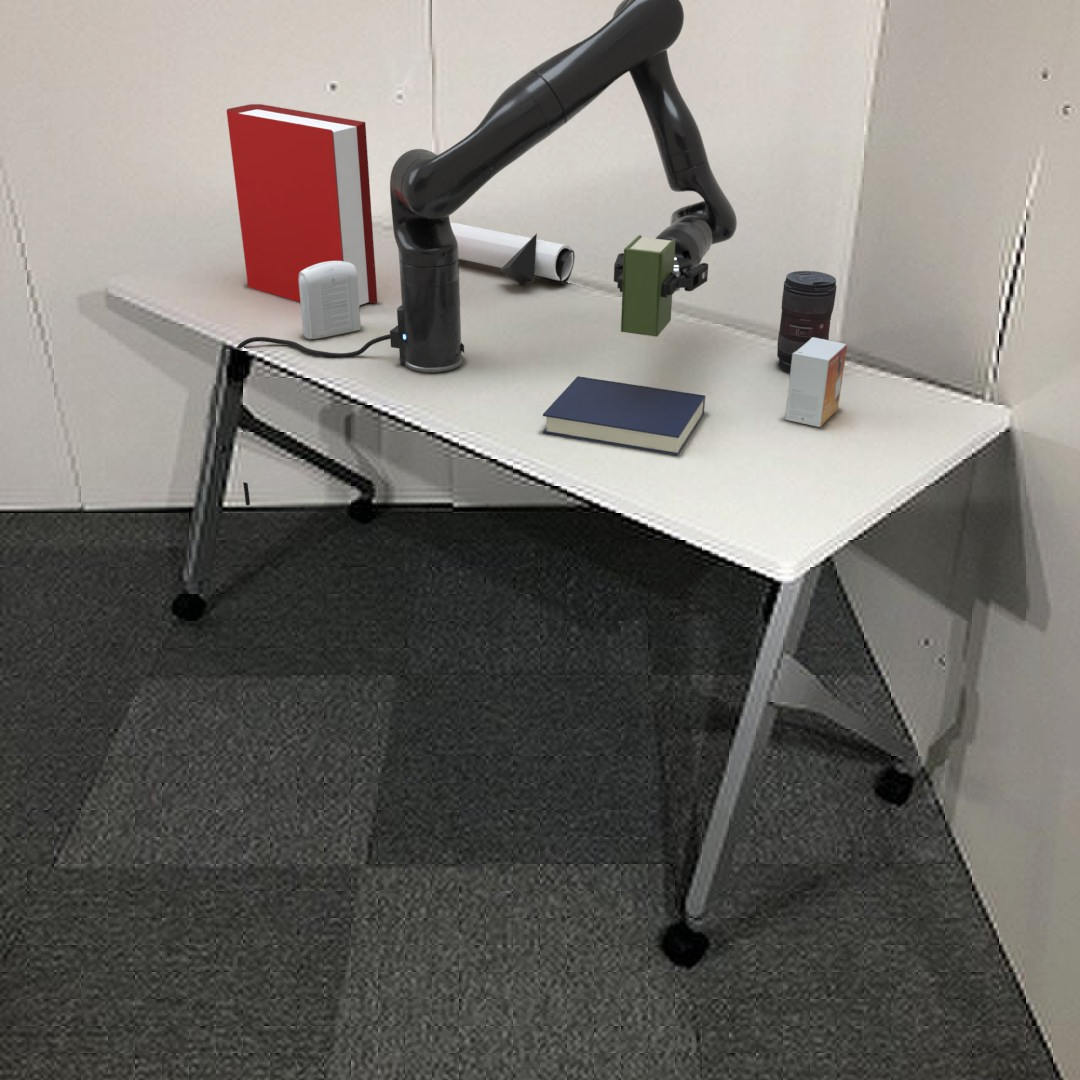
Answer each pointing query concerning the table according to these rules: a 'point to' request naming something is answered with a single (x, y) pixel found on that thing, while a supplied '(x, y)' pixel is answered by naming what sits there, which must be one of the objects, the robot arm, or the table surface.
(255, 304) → the table surface
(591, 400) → the block
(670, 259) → the dictionary
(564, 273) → the diploma
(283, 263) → the book
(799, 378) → the small box
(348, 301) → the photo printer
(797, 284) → the camera lens
